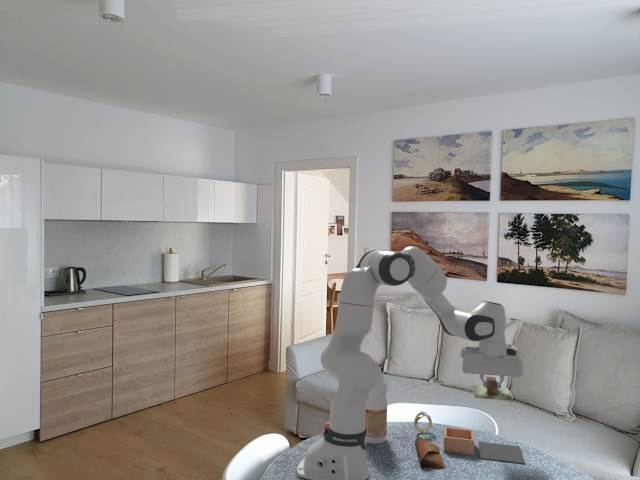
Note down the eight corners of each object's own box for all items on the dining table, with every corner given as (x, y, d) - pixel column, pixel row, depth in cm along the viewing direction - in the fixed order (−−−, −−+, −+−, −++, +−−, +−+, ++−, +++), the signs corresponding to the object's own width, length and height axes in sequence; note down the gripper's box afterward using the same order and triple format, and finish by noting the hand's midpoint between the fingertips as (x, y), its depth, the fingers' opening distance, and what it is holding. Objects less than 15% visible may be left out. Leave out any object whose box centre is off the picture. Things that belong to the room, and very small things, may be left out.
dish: (443, 451, 172) (444, 437, 172) (444, 440, 182) (444, 426, 182) (473, 455, 170) (474, 440, 170) (472, 443, 179) (473, 430, 179)
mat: (480, 458, 167) (480, 457, 167) (478, 442, 181) (478, 441, 181) (525, 464, 164) (525, 463, 164) (519, 447, 177) (519, 446, 177)
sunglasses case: (447, 469, 158) (437, 451, 159) (428, 479, 159) (417, 461, 159) (438, 446, 176) (429, 429, 177) (420, 455, 177) (411, 438, 177)
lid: (474, 397, 169) (474, 383, 169) (472, 387, 181) (472, 374, 181) (512, 400, 166) (512, 386, 166) (507, 390, 178) (507, 376, 178)
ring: (415, 434, 186) (416, 413, 186) (412, 431, 190) (412, 410, 190) (433, 433, 188) (433, 412, 188) (429, 430, 191) (430, 409, 191)
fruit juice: (378, 446, 175) (380, 367, 175) (355, 440, 180) (357, 363, 180) (390, 438, 183) (392, 362, 183) (368, 432, 188) (370, 358, 188)
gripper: (461, 348, 173) (461, 387, 173) (524, 351, 168) (524, 392, 168) (460, 344, 179) (460, 382, 179) (521, 347, 174) (521, 386, 174)
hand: (491, 387), depth 173 cm, fingers closed on lid, 3 cm apart
